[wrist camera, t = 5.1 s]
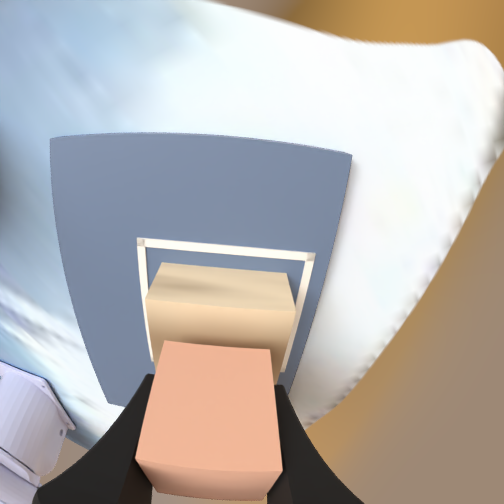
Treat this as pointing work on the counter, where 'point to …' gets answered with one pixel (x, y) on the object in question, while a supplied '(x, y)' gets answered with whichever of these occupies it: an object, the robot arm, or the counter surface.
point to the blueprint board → (186, 230)
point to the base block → (220, 309)
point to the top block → (211, 423)
